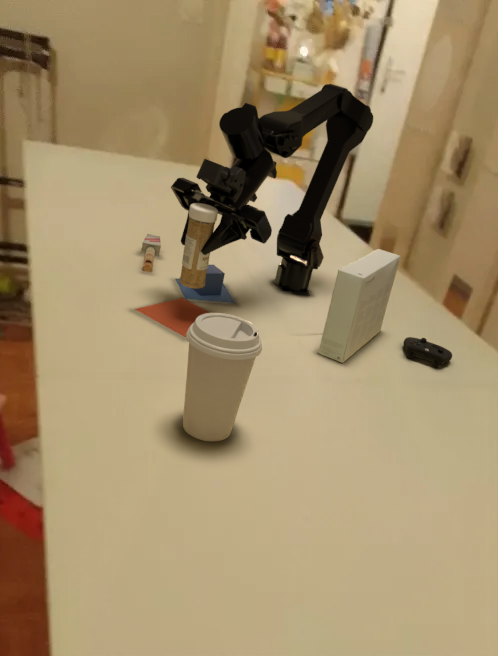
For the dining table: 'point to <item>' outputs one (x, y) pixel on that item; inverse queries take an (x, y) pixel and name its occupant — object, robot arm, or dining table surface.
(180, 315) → the terracotta mat
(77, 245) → the dining table surface
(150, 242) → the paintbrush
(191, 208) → the sprinkles bottle
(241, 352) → the coffee cup
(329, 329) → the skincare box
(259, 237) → the robot arm
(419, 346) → the game controller
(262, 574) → the dining table surface
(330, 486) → the dining table surface
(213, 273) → the blue block
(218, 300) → the blue mat
